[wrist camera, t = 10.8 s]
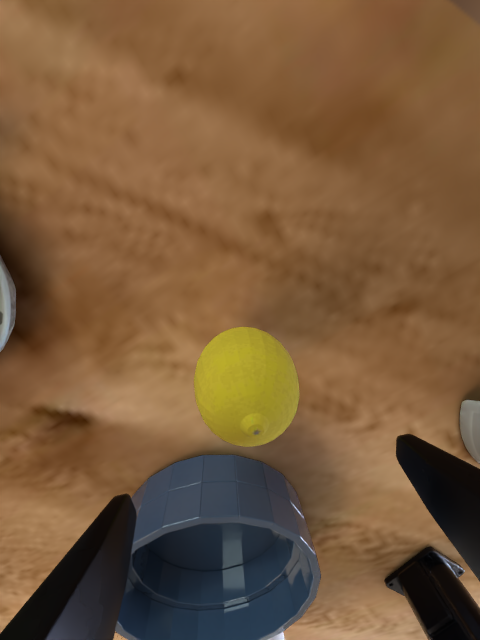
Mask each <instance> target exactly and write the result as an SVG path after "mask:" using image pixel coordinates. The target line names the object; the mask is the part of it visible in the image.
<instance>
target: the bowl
mask: <svg viewBox="0 0 480 640" xmlns="http://www.w3.org/2000/svg"><path fill="white" fill-rule="evenodd" d="M131 500H132V502H133V504H134V507H135V509H136V513H137V519H136V526H135V532H134V539H133V545H132V552H131V558H130V565H129V571H128V577H127V582H126V587H125V591H124V596H123V600H122V604H121V608H120V612H119V617H118V621H117V625H116V629H115V631H116V632H117V633H118V634H120V635H121V636H123V637H125V638H126V639H128V640H268V639H270V638H272V637H274V636H276V635H278V634H280V633H282V632H283V631H284V630H286V629H287V628H288V627H289V626H291V625H292V624H293V623H294V622H296V621H297V620H298V619H300V618H301V617H302V616H303V614H304V613H305V612H306V610H307V609H308V608H309V606H310V605H311V603H312V602H313V601H314V599H315V598H316V594H317V591H318V587H319V583H320V579H321V573H320V569H319V564H318V560H317V556H316V552H315V549H314V546H313V543H312V540H311V537H310V533H309V530H308V527H307V524H306V521H305V518H304V515H303V511H302V508H301V505H300V502H299V499H298V496H297V493H296V491H295V489H294V488H293V487H292V486H291V484H290V483H289V482H288V480H287V479H286V478H285V477H284V475H283V474H282V473H280V472H278V471H277V470H275V469H273V468H272V467H270V466H268V465H267V464H265V463H263V462H261V461H257V460H253V459H249V458H245V457H241V456H237V455H201V456H198V457H194V458H190V459H186V460H183V461H179V462H175V463H173V464H172V465H170V466H168V467H167V468H165V469H163V470H161V471H160V472H158V473H156V474H154V475H153V476H151V477H150V478H148V480H147V481H146V482H145V483H144V484H143V485H142V486H141V487H140V488H139V489H138V491H137V492H136V493H135V494H134V495H133V496H132V498H131Z"/></svg>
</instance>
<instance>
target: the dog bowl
mask: <svg viewBox="0 0 480 640" xmlns="http://www.w3.org/2000/svg"><path fill="white" fill-rule="evenodd" d="M460 430H461V436H462V438H463V442H464V444H465V446H466V448H467V450H468V452H469V453H470V455H471V456H472V457H473V458H474V459H475V460H476V461H477V462H478V463H479V464H480V401H473V400H465V401H463V402H462V404H461V411H460Z"/></svg>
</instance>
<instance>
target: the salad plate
mask: <svg viewBox="0 0 480 640" xmlns="http://www.w3.org/2000/svg"><path fill="white" fill-rule="evenodd" d="M15 315H16V288H15V285H14V281H13V279H12V277H11V275H10V273H9V271H8V269H7V267H6V265H5V263H4V262H3V260H2V258H1V255H0V352H1V351H2V350H3V348H4V346H5V344H6V343H7V341H8V339H9V336H10V334H11V332H12V329H13V327H14V324H15Z"/></svg>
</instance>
